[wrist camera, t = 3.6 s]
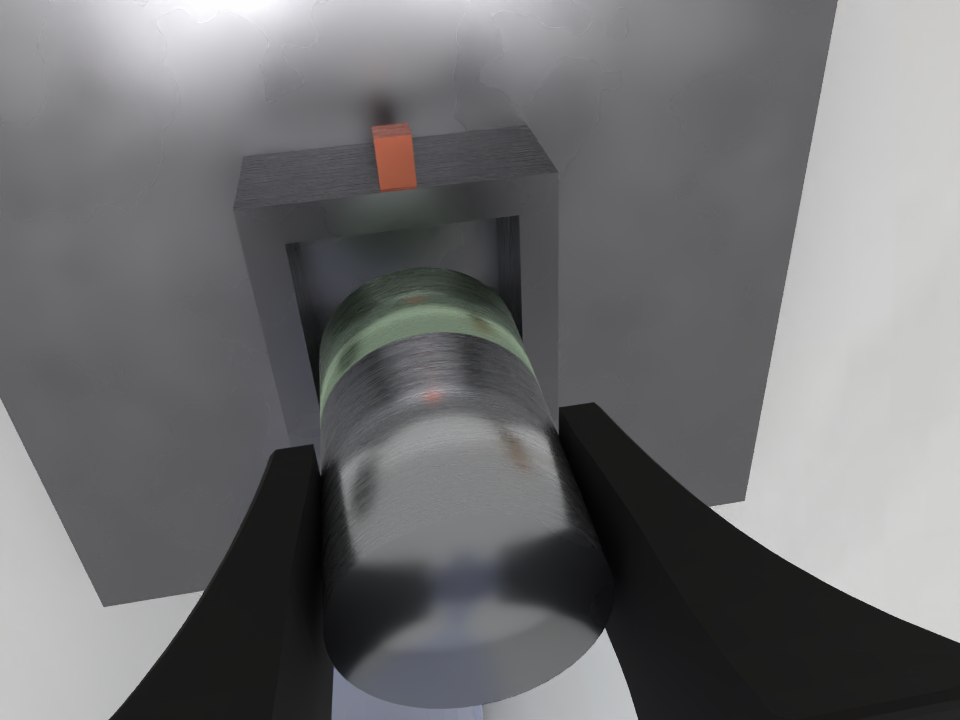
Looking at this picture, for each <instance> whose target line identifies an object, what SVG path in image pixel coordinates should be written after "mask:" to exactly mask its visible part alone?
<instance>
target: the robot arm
mask: <svg viewBox="0 0 960 720" xmlns="http://www.w3.org/2000/svg"><path fill="white" fill-rule="evenodd" d="M559 438H560V440H561V443H562V446H563V448H564V451H565V453H566V456H567V459H568V461H569V464H570V466H571V469H572V471H573V474H574V477H575V479H576V482H577V484H578V487H579V490H580V492H581V495H582V497H583V500H584V502H585V505H586V508H587V510H588V513H589V515H590V518H591V521H592V523H593V526H594V528H595V531H596V533H597V536H598V539H599V541H600V544H601V546H602V549H603V552H604V554H605V557H606V559H607V562H608V564H609V567H610V570H611V572H612V577H613V581H614V593H615V596H614V603H613V609H612V611H611V614H610V617H609V620H608V622H607V624H606V626H605V629H606V631H607V634H608V636H609V638H610V641H611V643H612V646H613V648H614V650H615V653H616V655H617V658H618V660H619V662H620V665H621V668H622V671H623V673H624V676H625V679H626V682H627V684H628V687H629V690H630V694H631V697H632V700H633V703H634V707H635V710H636V713H637V717H638V720H960V643H958V642H956V641H953V640H951V639H948V638H946V637H943V636H941V635H938V634H936V633H933V632H931V631H928V630H926V629H923V628H921V627H919V626H916V625H914V624H911V623H909V622H906V621H904V620H901V619H899V618H897V617H894V616H892V615H890V614H888V613H886V612H884V611H881V610H879V609H877V608H875V607H873V606H871V605H869V604H867V603H865V602H863V601H860V600H858V599H856V598H854V597H852V596H850V595H848V594H846V593H844V592H842V591H840V590H838V589H837V588H835V587H833V586H831V585H829V584H827V583H825V582H823V581H822V580H820V579H818V578H816V577H814V576H813V575H811V574H809V573H807V572H806V571H804V570H802V569H800V568H799V567H797V566H795V565H793V564H791V563H790V562H788V561H786V560H785V559H783V558H781V557H780V556H778V555H777V554H775V553H773V552H772V551H770V550H768V549H767V548H765V547H764V546H762V545H761V544H759V543H758V542H756V541H755V540H753V539H752V538H750V537H749V536H747V535H746V534H744V533H743V532H742V531H740V530H739V529H737V528H736V527H734V526H733V525H732V524H730V523H729V522H728V521H726V520H725V519H724V518H722V517H721V516H720V515H718V514H717V513H716V512H714V511H713V510H712V509H711V508H709V507H708V506H707V505H706V504H704V503H703V502H702V501H701V500H699V499H698V498H697V497H696V496H694V495H693V494H692V493H691V492H690V491H688V490H687V489H686V488H685V487H684V486H683V485H681V484H680V483H679V482H678V481H677V480H676V479H675V478H673V477H672V476H671V475H670V474H669V473H668V472H667V471H666V470H664V469H663V468H662V467H661V466H660V465H659V464H658V463H657V462H655V461H654V460H653V459H652V458H651V457H650V456H649V455H648V454H647V453H646V452H645V451H644V450H643V449H642V448H641V447H640V446H639V445H638V444H636V443H635V442H634V441H633V440H632V439H631V438H630V437H629V436H628V435H627V434H626V433H625V432H624V431H623V430H622V429H621V428H620V427H619V426H618V425H617V424H616V423H615V422H614V421H613V420H612V419H611V418H610V416H609V415H608V414H607V413H606V412H605V411H604V410H603V409H602V408H601V407H600V406H598V405H597V404H596V403H595V402H592V403H585V404H578V405H571V406H565V407H559ZM109 720H483V711H482V705H478V706H471V707H464V708H452V709H426V708H415V707H408V706H403V705H398V704H394V703H390V702H387V701H384V700H381V699H378V698H376V697H373V696H371V695H369V694H367V693H365V692H363V691H361V690H360V689H358V688H356V687H355V686H353V685H352V684H351V683H350V682H348V681H347V680H346V679H345V678H344V677H343V676H342V675H341V674H340V673H339V672H338V671H337V670H336V668H335V667H334V665H333V664H332V662H331V660H330V659H329V656H328V654H327V651H326V648H325V644H324V638H323V599H322V524H321V475H320V471H319V466H318V462H317V457H316V453H315V449H314V444H310V445H303V446H296V447H290V448H283V449H276V450H275V451H274V452H273V453H272V454H271V455H270V457H269V460H268V463H267V466H266V468H265V471H264V474H263V476H262V479H261V481H260V484H259V486H258V489H257V491H256V493H255V495H254V498H253V500H252V502H251V504H250V507H249V509H248V511H247V513H246V515H245V517H244V519H243V521H242V523H241V525H240V527H239V529H238V531H237V533H236V535H235V537H234V539H233V541H232V543H231V545H230V547H229V549H228V551H227V553H226V555H225V557H224V558H223V560H222V562H221V564H220V565H219V567H218V569H217V570H216V572H215V574H214V576H213V577H212V579H211V581H210V583H209V584H208V586H207V588H206V589H205V591H204V593H203V595H202V596H201V598H200V599H199V601H198V603H197V604H196V606H195V607H194V609H193V610H192V612H191V614H190V615H189V617H188V618H187V620H186V621H185V623H184V624H183V626H182V627H181V628H180V630H179V631H178V633H177V634H176V636H175V637H174V638H173V640H172V641H171V643H170V644H169V646H168V647H167V648H166V650H165V651H164V652H163V654H162V655H161V656H160V658H159V659H158V660H157V661H156V663H155V664H154V665H153V667H152V668H151V669H150V671H149V672H148V673H147V674H146V676H145V677H144V678H143V680H142V681H141V682H140V684H139V685H138V686H137V687H136V689H135V690H134V691H133V692H132V693H131V695H130V696H129V697H128V698H127V700H126V701H125V702H124V703H123V704H122V705H121V707H120V708H119V709H118V710H117V711H116V712H115V714H114V715H113V716H112V717H111V718H110V719H109Z"/></svg>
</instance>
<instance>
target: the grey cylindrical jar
mask: <svg viewBox="0 0 960 720" xmlns="http://www.w3.org/2000/svg"><path fill="white" fill-rule="evenodd" d="M319 373H320V448H321V524H322V599H323V638H324V644H325V648H326V651H327V654H328V656H329V659H330V660H331V662H332V664H333V665H334V667H335V668H336V670H337V671H338V672H339V673H340V674H341V675H342V676H343V677H344V678H345V679H346V680H347V681H348V682H350V683H351V684H352V685H353V686H355V687H356V688H358V689H360V690H361V691H363V692H365V693H367V694H369V695H371V696H373V697H376V698H378V699H381V700H384V701H387V702H390V703H394V704H398V705H403V706H408V707H415V708H426V709H452V708H464V707H471V706H478V705H483V704H488V703H492V702H496V701H500V700H503V699H506V698H510V697H513V696H516V695H518V694H521V693H523V692H526V691H528V690H531V689H533V688H535V687H537V686H539V685H541V684H543V683H545V682H547V681H549V680H550V679H552V678H554V677H555V676H557V675H559V674H560V673H562V672H563V671H564V670H566V669H567V668H569V667H570V666H571V665H573V664H574V663H575V662H576V661H577V660H578V659H579V658H581V657H582V656H583V655H584V654H585V653H586V652H587V651H588V650H589V648H590V647H591V646H592V645H593V644H594V643H595V641H596V640H597V639H598V637H599V636H600V635H601V633H602V632H603V630H604V628H605V626H606V624H607V622H608V620H609V617H610V614H611V611H612V609H613V603H614V596H615V593H614V581H613V577H612V572H611V570H610V567H609V564H608V562H607V559H606V557H605V554H604V552H603V549H602V546H601V544H600V541H599V539H598V536H597V533H596V531H595V528H594V526H593V523H592V521H591V518H590V515H589V513H588V510H587V508H586V505H585V502H584V500H583V497H582V495H581V492H580V490H579V487H578V484H577V482H576V479H575V477H574V474H573V471H572V469H571V466H570V464H569V461H568V459H567V456H566V453H565V451H564V448H563V446H562V443H561V440H560V438H559V435H558V433H557V430H556V428H555V425H554V422H553V420H552V417H551V415H550V412H549V409H548V407H547V404H546V402H545V399H544V397H543V394H542V391H541V389H540V386H539V384H538V381H537V378H536V376H535V373H534V371H533V368H532V366H531V363H530V360H529V358H528V355H527V353H526V350H525V347H524V345H523V342H522V340H521V337H520V335H519V332H518V329H517V327H516V324H515V322H514V319H513V317H512V315H511V313H510V311H509V309H508V308H507V306H506V305H505V303H504V302H503V300H502V299H501V298H500V297H499V296H498V295H497V294H496V293H495V292H494V291H493V290H492V289H490V288H489V287H488V286H487V285H485V284H484V283H482V282H480V281H479V280H477V279H475V278H473V277H471V276H469V275H466V274H464V273H461V272H457V271H454V270H450V269H444V268H437V267H416V268H407V269H402V270H397V271H393V272H390V273H387V274H384V275H381V276H379V277H377V278H375V279H372V280H370V281H369V282H367V283H365V284H364V285H362V286H360V287H359V288H357V289H356V290H355V291H354V292H352V293H351V294H350V295H348V296H347V298H346V299H345V300H344V301H343V302H342V303H341V304H340V305H339V306H338V307H337V309H336V310H335V311H334V313H333V314H332V315H331V317H330V319H329V321H328V323H327V325H326V327H325V330H324V332H323V335H322V339H321V344H320V354H319Z"/></svg>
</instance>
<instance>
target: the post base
mask: <svg viewBox="0 0 960 720" xmlns="http://www.w3.org/2000/svg"><path fill="white" fill-rule="evenodd" d="M837 1H838V0H0V398H1V400H2V402H3V404H4V406H5V408H6V410H7V412H8V414H9V416H10V418H11V420H12V422H13V424H14V426H15V428H16V430H17V432H18V434H19V436H20V438H21V441H22V443H23V445H24V447H25V449H26V451H27V453H28V455H29V457H30V459H31V461H32V463H33V465H34V467H35V469H36V471H37V473H38V475H39V477H40V479H41V481H42V483H43V485H44V487H45V489H46V491H47V493H48V495H49V497H50V499H51V501H52V503H53V505H54V507H55V509H56V511H57V513H58V515H59V517H60V519H61V521H62V523H63V526H64V528H65V530H66V532H67V534H68V536H69V538H70V540H71V542H72V544H73V546H74V548H75V550H76V552H77V554H78V556H79V558H80V560H81V562H82V564H83V566H84V568H85V570H86V572H87V574H88V576H89V578H90V580H91V582H92V584H93V586H94V588H95V590H96V592H97V594H98V596H99V598H100V600H101V602H102V604H103V606H104V607H107V606H113V605H119V604H125V603H131V602H137V601H143V600H149V599H155V598H161V597H167V596H173V595H179V594H185V593H191V592H197V591H204V590H205V589H206V588H207V586H208V584H209V583H210V581H211V579H212V577H213V576H214V574H215V572H216V570H217V569H218V567H219V565H220V564H221V562H222V560H223V558H224V557H225V555H226V553H227V551H228V549H229V547H230V545H231V543H232V541H233V539H234V537H235V535H236V533H237V531H238V529H239V527H240V525H241V523H242V521H243V519H244V517H245V515H246V513H247V511H248V509H249V507H250V504H251V502H252V500H253V498H254V495H255V493H256V491H257V489H258V486H259V484H260V481H261V479H262V476H263V474H264V471H265V468H266V466H267V463H268V460H269V457H270V455H271V454H272V453H273V452H274V451H275V450H276V449H283V448H290V447H296V446H303V445H310V444H314V449H315V453H316V457H317V462H318V466H319V471H320V475H321V448H320V373H319V354H320V344H321V339H322V335H323V332H324V330H325V327H326V325H327V323H328V321H329V319H330V317H331V315H332V314H333V313H334V311H335V310H336V309H337V307H338V306H339V305H340V304H341V303H342V302H343V301H344V300H345V299H346V298H347V296H348V295H350V294H351V293H352V292H354V291H355V290H356V289H357V288H359V287H360V286H362V285H364V284H365V283H367V282H369V281H370V280H372V279H375V278H377V277H379V276H381V275H384V274H387V273H390V272H393V271H397V270H402V269H407V268H416V267H437V268H444V269H450V270H454V271H457V272H461V273H464V274H466V275H469V276H471V277H473V278H475V279H477V280H479V281H480V282H482V283H484V284H485V285H487V286H488V287H489V288H490V289H492V290H493V291H494V292H495V293H496V294H497V295H498V296H499V297H500V298H501V299H502V300H503V302H504V303H505V305H506V306H507V308H508V309H509V311H510V313H511V315H512V317H513V319H514V322H515V324H516V327H517V329H518V332H519V335H520V337H521V340H522V342H523V345H524V347H525V350H526V353H527V355H528V358H529V360H530V363H531V366H532V368H533V371H534V373H535V376H536V378H537V381H538V384H539V386H540V389H541V391H542V394H543V397H544V399H545V402H546V404H547V407H548V409H549V412H550V415H551V417H552V420H553V422H554V425H555V428H556V430H557V433H558V435H559V407H565V406H571V405H578V404H585V403H592V402H595V403H596V404H597V405H598V406H600V407H601V408H602V409H603V410H604V411H605V412H606V413H607V414H608V415H609V416H610V418H611V419H612V420H613V421H614V422H615V423H616V424H617V425H618V426H619V427H620V428H621V429H622V430H623V431H624V432H625V433H626V434H627V435H628V436H629V437H630V438H631V439H632V440H633V441H634V442H635V443H636V444H638V445H639V446H640V447H641V448H642V449H643V450H644V451H645V452H646V453H647V454H648V455H649V456H650V457H651V458H652V459H653V460H654V461H655V462H657V463H658V464H659V465H660V466H661V467H662V468H663V469H664V470H666V471H667V472H668V473H669V474H670V475H671V476H672V477H673V478H675V479H676V480H677V481H678V482H679V483H680V484H681V485H683V486H684V487H685V488H686V489H687V490H688V491H690V492H691V493H692V494H693V495H694V496H696V497H697V498H698V499H699V500H701V501H702V502H703V503H704V504H706V505H707V506H708V507H710V506H716V505H722V504H728V503H734V502H740V501H745V495H746V490H747V485H748V479H749V474H750V469H751V463H752V458H753V452H754V447H755V442H756V436H757V431H758V426H759V420H760V415H761V410H762V404H763V399H764V393H765V388H766V383H767V377H768V372H769V367H770V361H771V356H772V350H773V345H774V340H775V334H776V329H777V324H778V318H779V313H780V307H781V302H782V297H783V291H784V286H785V281H786V275H787V270H788V265H789V259H790V254H791V248H792V243H793V238H794V232H795V227H796V222H797V216H798V211H799V205H800V200H801V195H802V189H803V184H804V179H805V173H806V168H807V162H808V157H809V152H810V146H811V141H812V136H813V130H814V125H815V119H816V114H817V109H818V103H819V98H820V93H821V87H822V82H823V77H824V71H825V66H826V60H827V55H828V50H829V44H830V39H831V34H832V28H833V23H834V17H835V12H836V7H837Z"/></svg>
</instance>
